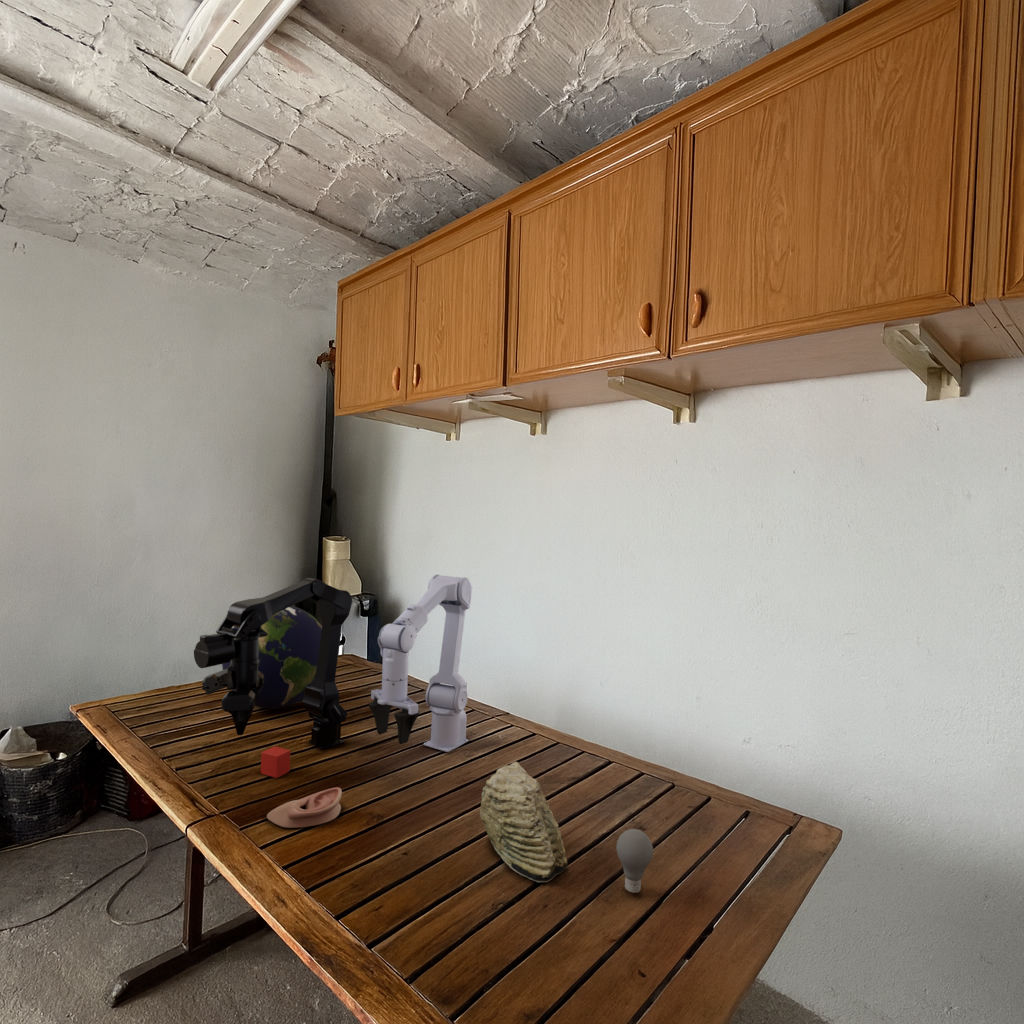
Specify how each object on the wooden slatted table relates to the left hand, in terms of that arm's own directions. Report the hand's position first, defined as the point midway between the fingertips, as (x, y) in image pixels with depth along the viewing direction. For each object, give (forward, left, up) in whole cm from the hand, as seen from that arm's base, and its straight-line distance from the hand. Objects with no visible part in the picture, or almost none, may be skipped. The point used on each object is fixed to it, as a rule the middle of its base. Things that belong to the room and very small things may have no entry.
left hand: (243, 727), depth 143 cm
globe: (-28, -37, -11) cm, 47 cm away
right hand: (-22, +25, -1) cm, 34 cm away
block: (-6, +4, -11) cm, 13 cm away
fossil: (-20, +66, -11) cm, 69 cm away
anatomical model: (0, +26, -11) cm, 28 cm away
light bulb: (-26, +85, -11) cm, 90 cm away
